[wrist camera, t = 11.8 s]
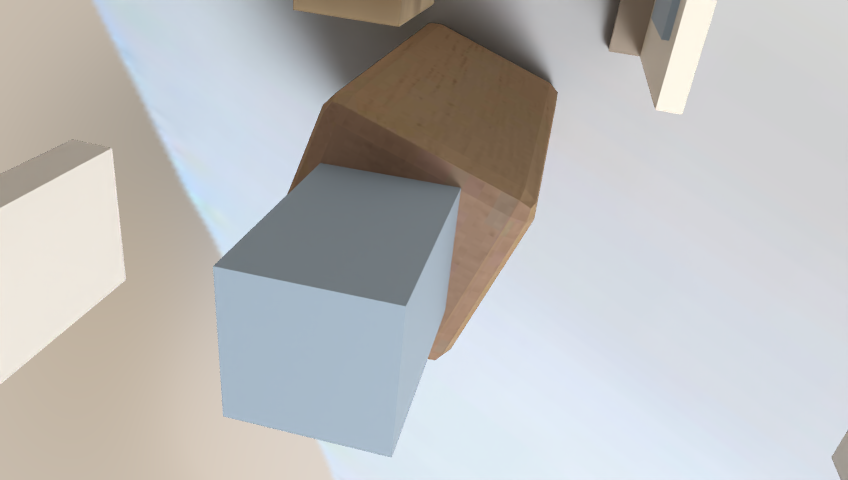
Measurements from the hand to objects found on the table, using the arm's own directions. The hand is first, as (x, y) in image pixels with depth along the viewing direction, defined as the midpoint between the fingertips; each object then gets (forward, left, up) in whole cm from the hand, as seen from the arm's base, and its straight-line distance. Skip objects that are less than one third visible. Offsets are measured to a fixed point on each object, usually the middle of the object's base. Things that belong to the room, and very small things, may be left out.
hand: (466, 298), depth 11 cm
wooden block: (+8, -5, -35) cm, 37 cm away
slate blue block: (+8, -5, -15) cm, 18 cm away
